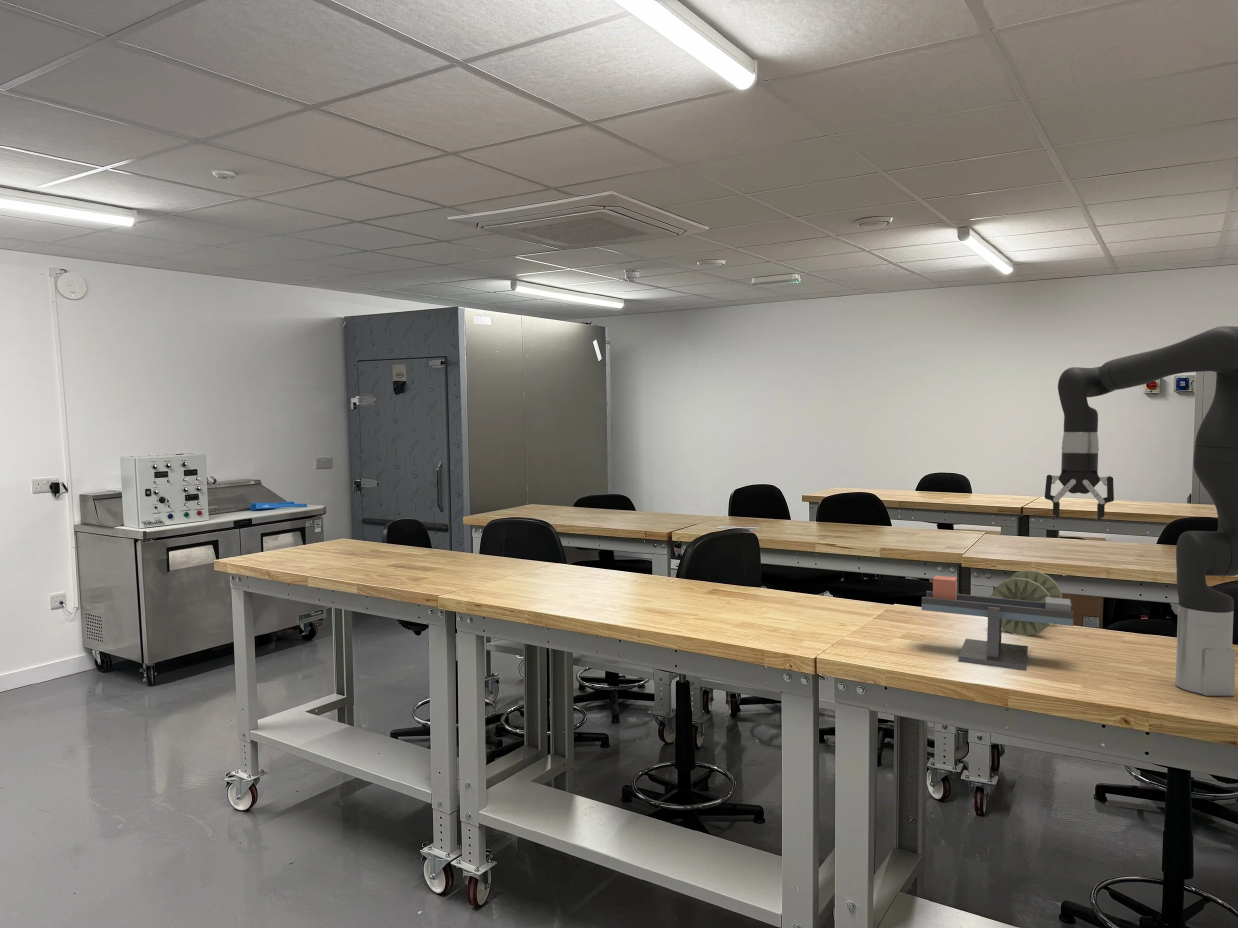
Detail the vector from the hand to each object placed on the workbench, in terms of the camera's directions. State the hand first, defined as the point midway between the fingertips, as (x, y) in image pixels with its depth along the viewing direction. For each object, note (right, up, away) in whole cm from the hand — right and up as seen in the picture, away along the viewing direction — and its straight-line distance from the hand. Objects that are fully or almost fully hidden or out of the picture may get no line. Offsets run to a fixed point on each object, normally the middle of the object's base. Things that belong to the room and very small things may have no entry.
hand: (1077, 518), depth 186 cm
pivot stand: (-20, -33, 0) cm, 39 cm away
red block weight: (-30, -21, +5) cm, 37 cm away
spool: (+1, -32, +26) cm, 42 cm away
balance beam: (-20, -22, 0) cm, 30 cm away
